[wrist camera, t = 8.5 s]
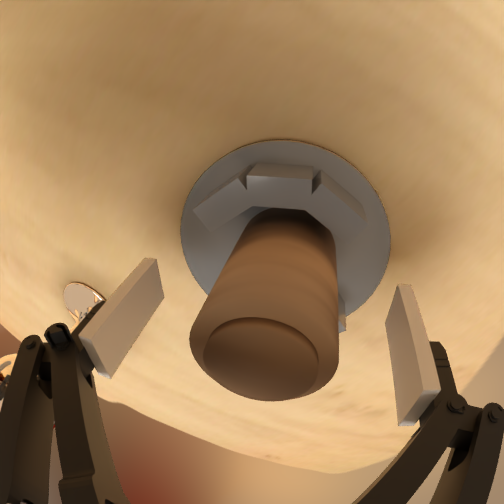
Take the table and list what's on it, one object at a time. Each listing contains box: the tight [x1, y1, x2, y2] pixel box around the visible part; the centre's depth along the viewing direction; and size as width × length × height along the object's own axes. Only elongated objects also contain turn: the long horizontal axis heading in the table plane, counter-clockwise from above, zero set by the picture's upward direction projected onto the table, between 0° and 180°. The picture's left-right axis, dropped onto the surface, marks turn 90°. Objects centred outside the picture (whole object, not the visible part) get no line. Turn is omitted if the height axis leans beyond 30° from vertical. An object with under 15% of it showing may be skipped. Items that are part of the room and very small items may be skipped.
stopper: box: [189, 207, 339, 401], centre depth 15 cm, size 6×6×10 cm
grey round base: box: [181, 140, 390, 333], centre depth 19 cm, size 14×14×4 cm
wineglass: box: [0, 283, 105, 430], centre depth 21 cm, size 8×8×20 cm
